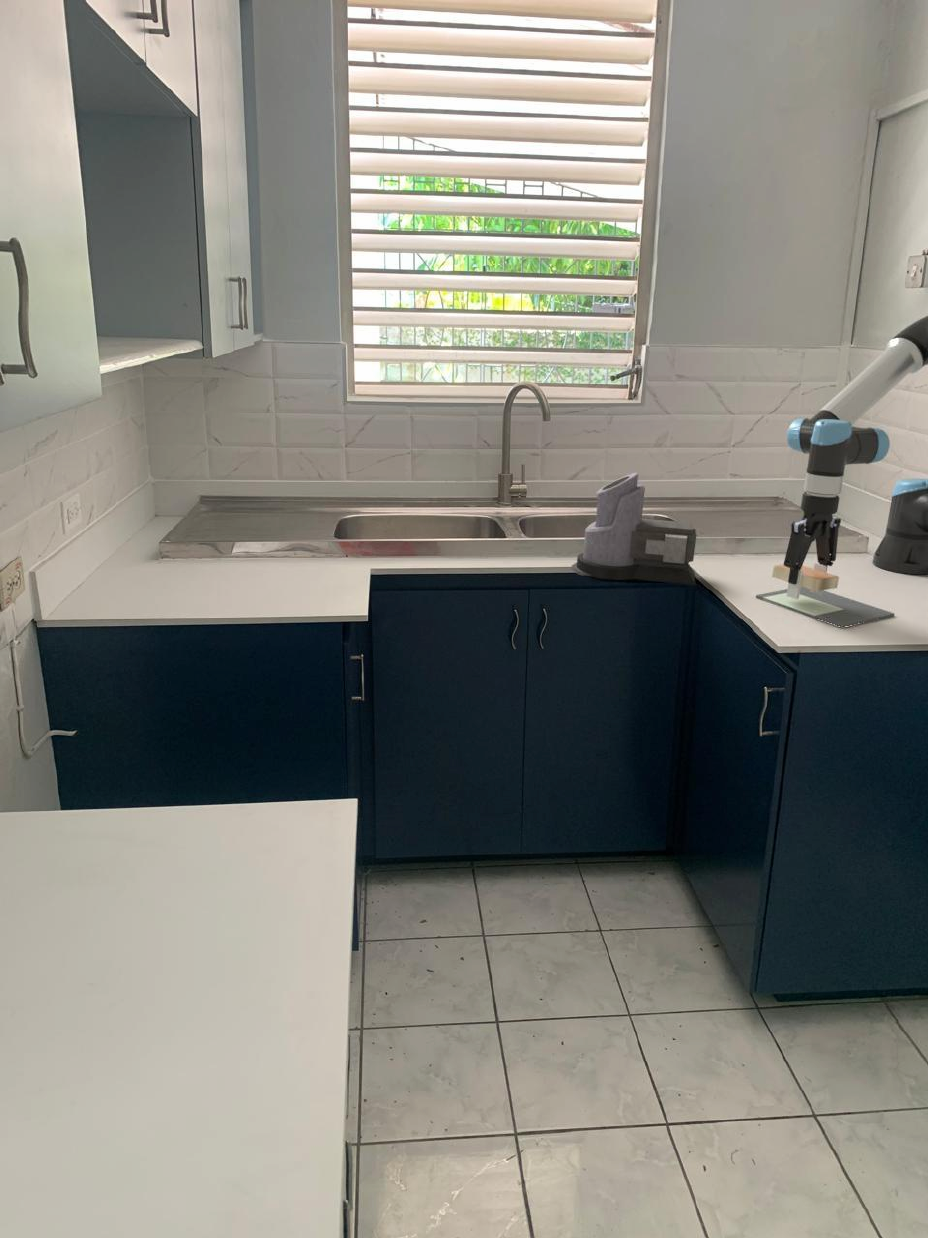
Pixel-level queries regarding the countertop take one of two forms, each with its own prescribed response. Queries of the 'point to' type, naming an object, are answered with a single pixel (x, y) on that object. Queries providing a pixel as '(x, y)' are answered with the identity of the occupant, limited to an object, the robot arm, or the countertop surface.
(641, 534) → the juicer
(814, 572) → the kitchen sponge
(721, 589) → the countertop surface
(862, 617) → the mat
